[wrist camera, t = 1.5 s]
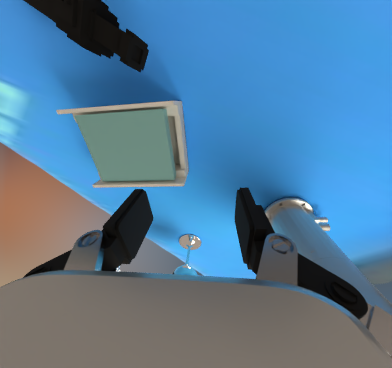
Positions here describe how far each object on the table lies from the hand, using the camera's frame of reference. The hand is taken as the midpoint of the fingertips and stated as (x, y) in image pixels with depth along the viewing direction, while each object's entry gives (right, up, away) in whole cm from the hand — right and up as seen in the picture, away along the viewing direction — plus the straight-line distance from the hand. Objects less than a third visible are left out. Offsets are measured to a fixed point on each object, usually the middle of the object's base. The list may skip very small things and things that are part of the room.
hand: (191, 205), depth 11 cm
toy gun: (-16, +28, +13) cm, 35 cm away
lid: (-12, +9, +18) cm, 23 cm away
